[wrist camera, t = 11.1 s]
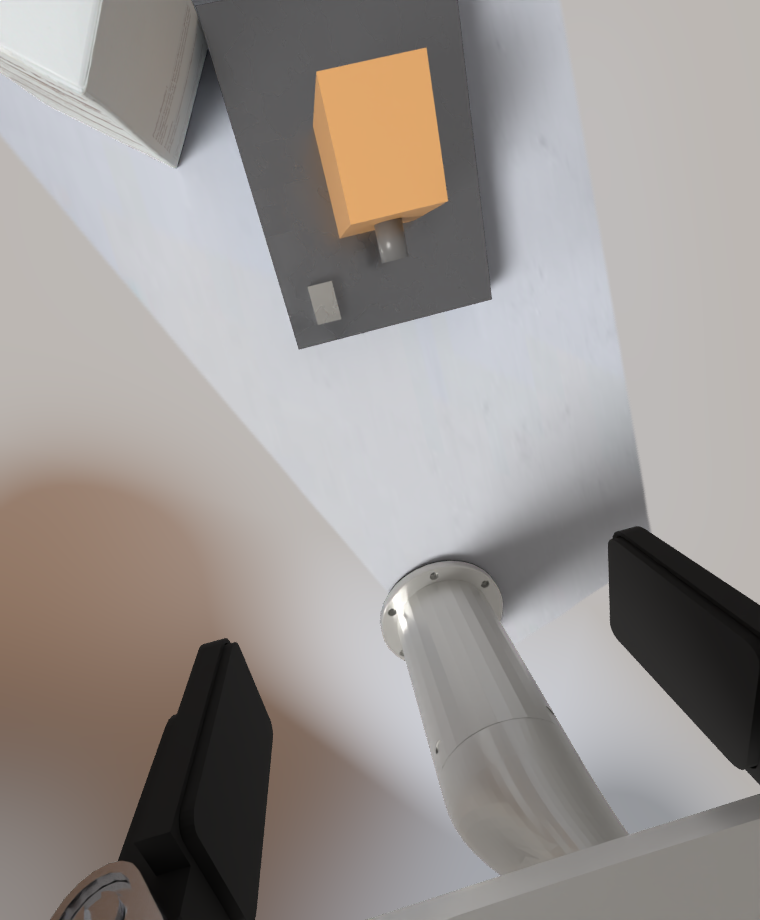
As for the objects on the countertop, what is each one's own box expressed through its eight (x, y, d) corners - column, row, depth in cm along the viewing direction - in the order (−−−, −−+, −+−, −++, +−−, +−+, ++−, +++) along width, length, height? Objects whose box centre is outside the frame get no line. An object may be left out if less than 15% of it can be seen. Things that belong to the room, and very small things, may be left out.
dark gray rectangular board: (476, 298, 33) (496, 299, 30) (299, 343, 32) (298, 351, 29) (436, -13, 26) (456, -58, 23) (207, 36, 25) (192, -4, 22)
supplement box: (73, -42, 23) (-154, -365, 12) (213, 43, 25) (138, -158, 14) (46, 108, 25) (-171, -40, 14) (177, 175, 27) (85, 96, 16)
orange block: (414, 255, 30) (454, 244, 22) (345, 272, 30) (360, 268, 22) (389, 117, 27) (426, 47, 19) (312, 135, 27) (316, 71, 19)
